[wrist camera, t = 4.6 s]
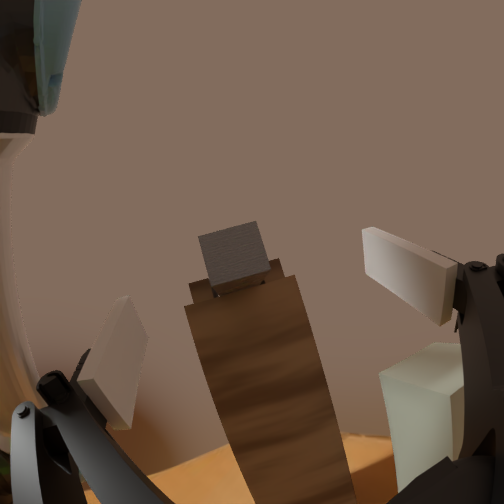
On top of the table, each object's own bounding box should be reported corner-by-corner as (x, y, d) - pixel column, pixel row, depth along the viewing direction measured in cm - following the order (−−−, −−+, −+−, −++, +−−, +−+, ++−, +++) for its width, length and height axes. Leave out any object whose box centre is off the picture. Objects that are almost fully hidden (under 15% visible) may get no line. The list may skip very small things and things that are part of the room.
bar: (271, 269, 16) (255, 220, 17) (211, 286, 16) (198, 236, 16) (251, 295, 37) (244, 274, 38) (225, 303, 37) (219, 281, 38)
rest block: (495, 501, 9) (508, 344, 13) (442, 544, 8) (449, 395, 12) (445, 473, 19) (434, 342, 22) (399, 504, 18) (378, 372, 22)
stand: (359, 515, 19) (288, 255, 25) (276, 543, 18) (178, 286, 24) (334, 479, 29) (273, 272, 35) (267, 501, 27) (195, 294, 34)
